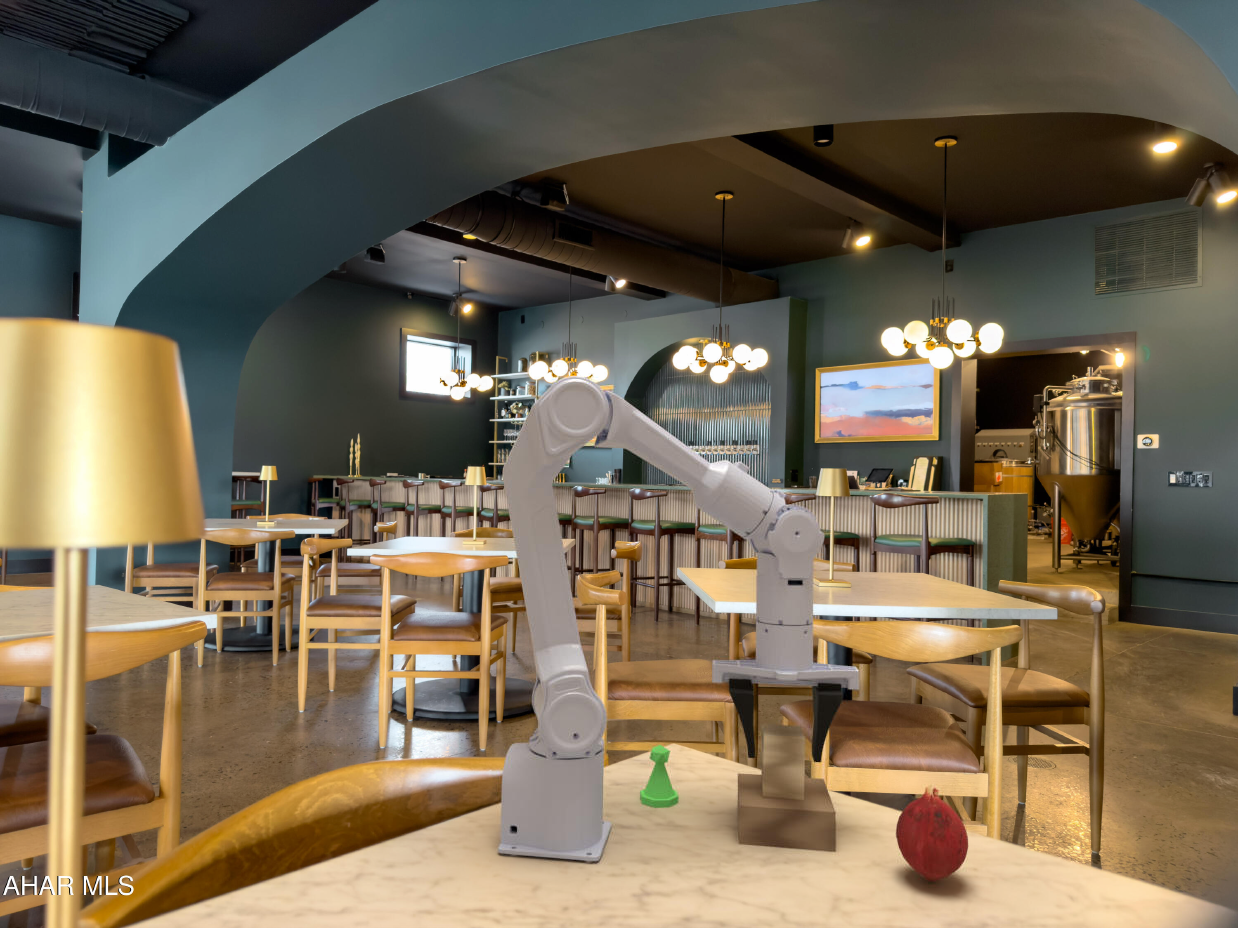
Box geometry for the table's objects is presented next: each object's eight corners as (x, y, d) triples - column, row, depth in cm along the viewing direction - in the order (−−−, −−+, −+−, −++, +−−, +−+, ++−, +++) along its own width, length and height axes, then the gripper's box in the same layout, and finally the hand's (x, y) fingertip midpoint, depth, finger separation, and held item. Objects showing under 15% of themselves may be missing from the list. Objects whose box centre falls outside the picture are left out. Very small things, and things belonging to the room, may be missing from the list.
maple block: (762, 796, 75) (763, 734, 75) (761, 782, 79) (762, 723, 79) (804, 799, 75) (805, 737, 75) (800, 785, 78) (801, 726, 79)
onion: (976, 902, 63) (975, 803, 63) (902, 893, 64) (902, 796, 64) (959, 869, 68) (958, 778, 69) (891, 862, 69) (891, 773, 70)
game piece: (634, 804, 82) (635, 748, 82) (645, 790, 86) (646, 737, 86) (673, 810, 81) (674, 752, 81) (682, 795, 85) (683, 741, 85)
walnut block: (738, 847, 73) (739, 805, 73) (737, 811, 82) (737, 773, 82) (835, 855, 71) (835, 812, 72) (823, 817, 80) (823, 778, 81)
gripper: (712, 624, 75) (710, 765, 74) (864, 630, 73) (864, 775, 72) (713, 614, 82) (712, 743, 81) (852, 619, 80) (852, 751, 79)
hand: (783, 756), depth 77 cm, fingers open, 6 cm apart
